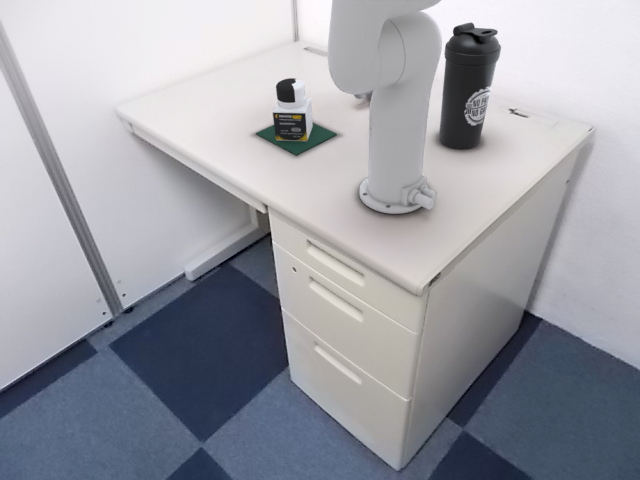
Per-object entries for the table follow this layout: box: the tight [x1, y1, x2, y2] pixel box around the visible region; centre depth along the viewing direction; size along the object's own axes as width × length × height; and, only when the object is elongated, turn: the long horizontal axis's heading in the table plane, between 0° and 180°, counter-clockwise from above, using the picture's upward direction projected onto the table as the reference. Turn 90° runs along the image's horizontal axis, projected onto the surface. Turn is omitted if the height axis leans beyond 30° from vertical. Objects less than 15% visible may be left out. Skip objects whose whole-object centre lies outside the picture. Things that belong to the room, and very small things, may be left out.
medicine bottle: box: [272, 77, 314, 142], centre depth 106 cm, size 7×7×12 cm
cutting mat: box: [255, 122, 338, 156], centre depth 111 cm, size 14×12×1 cm
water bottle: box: [438, 22, 502, 151], centre depth 98 cm, size 10×10×23 cm
